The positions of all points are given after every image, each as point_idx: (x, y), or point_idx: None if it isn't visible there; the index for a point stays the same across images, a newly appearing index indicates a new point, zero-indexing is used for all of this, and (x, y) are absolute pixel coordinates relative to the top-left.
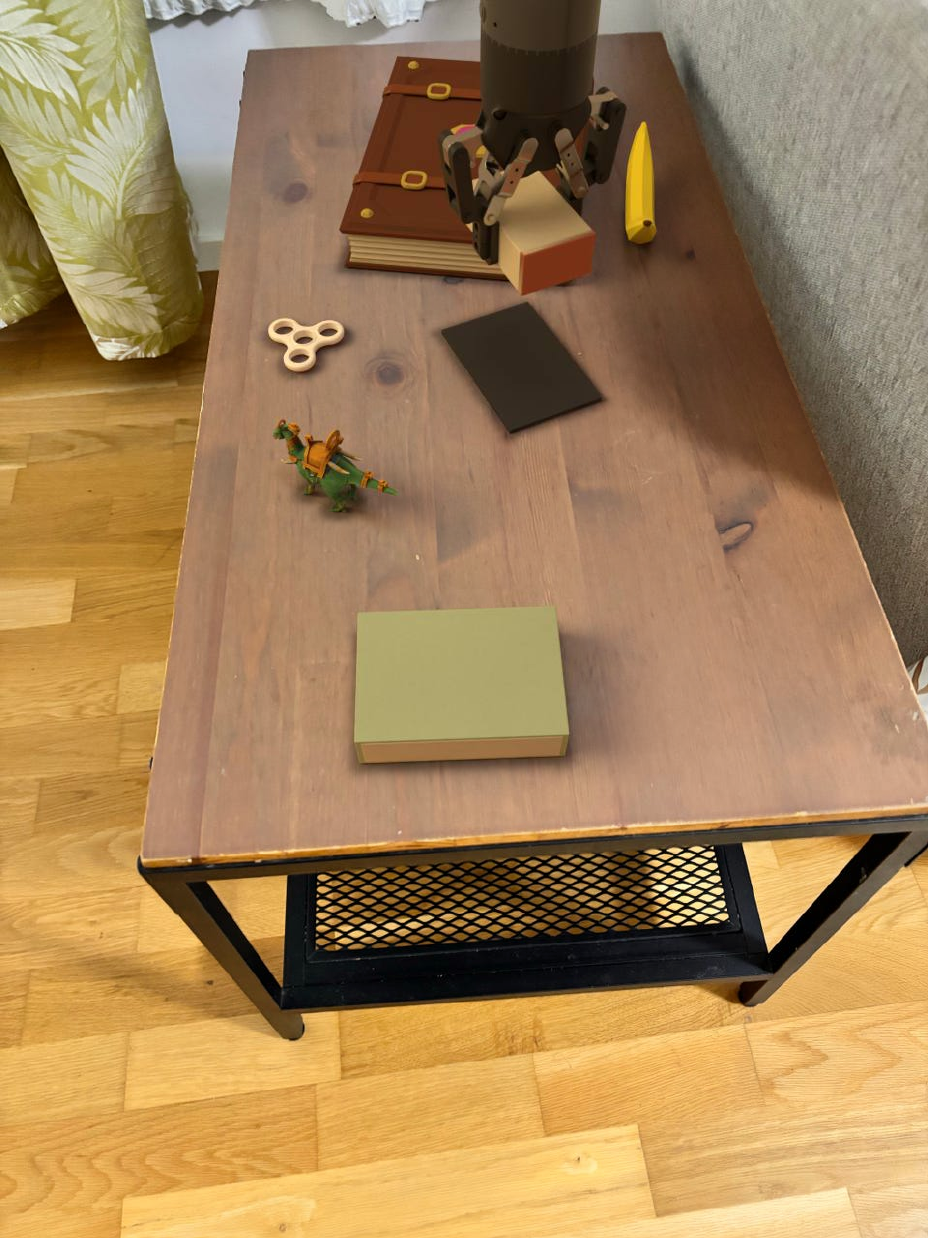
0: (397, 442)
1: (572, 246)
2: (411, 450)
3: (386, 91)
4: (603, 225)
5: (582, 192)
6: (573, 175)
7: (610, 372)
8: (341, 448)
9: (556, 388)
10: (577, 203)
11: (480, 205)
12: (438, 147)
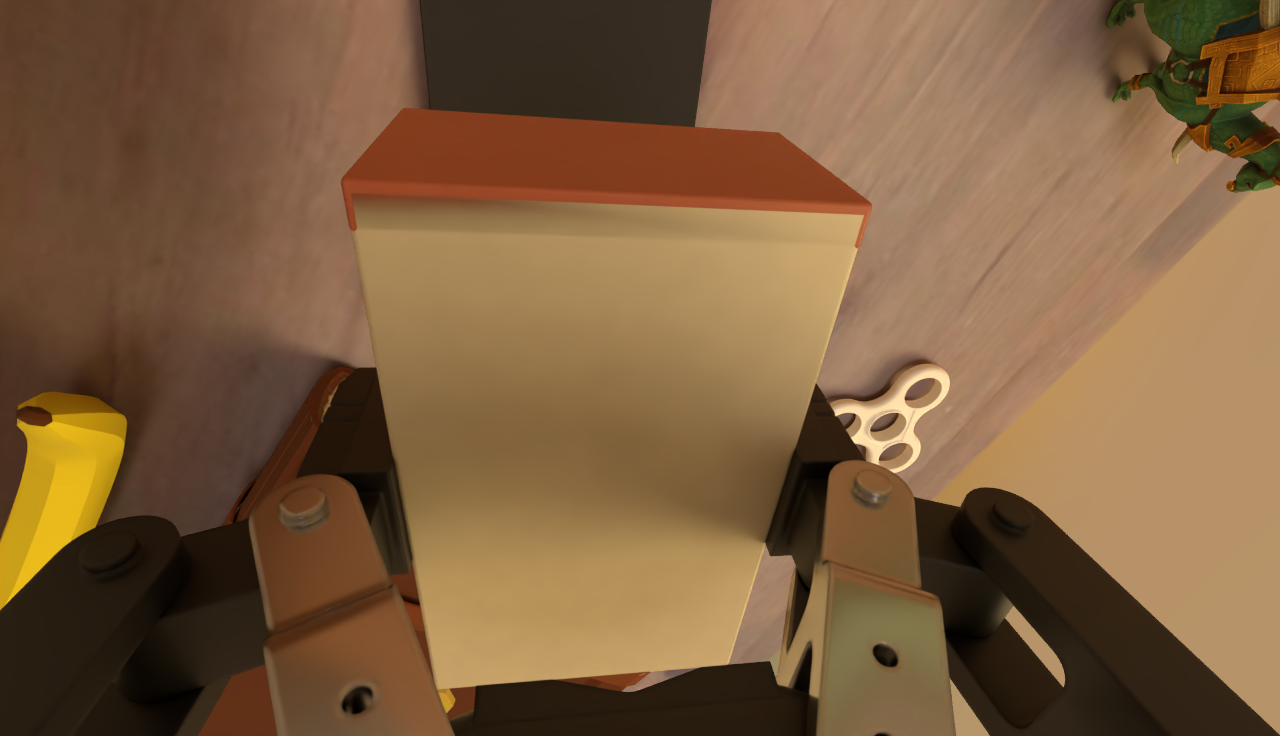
0: (930, 108)
1: (528, 174)
2: (926, 67)
3: None
4: (181, 481)
5: (302, 495)
6: (361, 607)
7: (343, 42)
8: (1258, 33)
9: (524, 57)
10: (343, 454)
11: (928, 558)
12: (467, 703)
